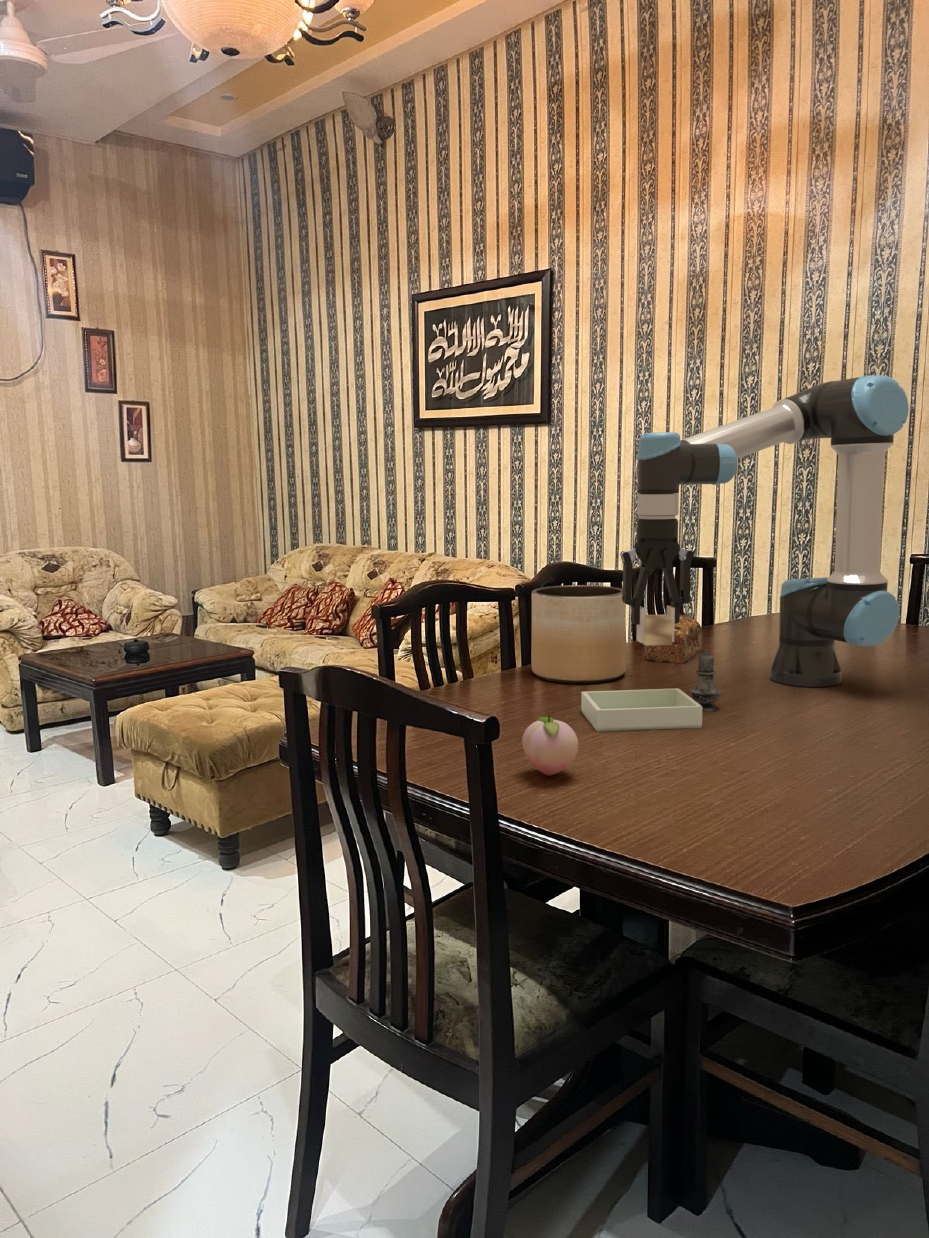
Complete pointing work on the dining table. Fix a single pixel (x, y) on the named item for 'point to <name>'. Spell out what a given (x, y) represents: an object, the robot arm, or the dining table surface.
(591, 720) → the tray
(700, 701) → the dark grey tall piece
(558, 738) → the decorative fruit
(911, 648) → the dining table surface
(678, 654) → the bread
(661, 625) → the maple cube
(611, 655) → the planter
